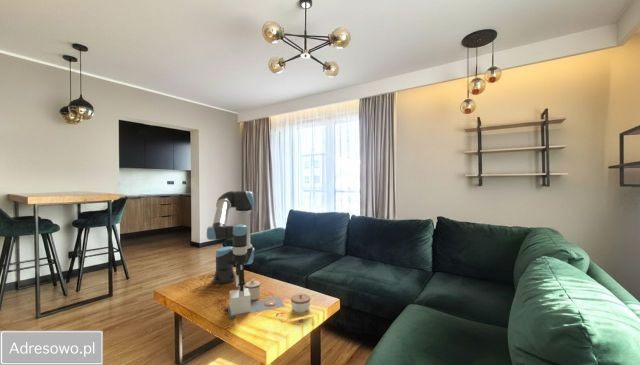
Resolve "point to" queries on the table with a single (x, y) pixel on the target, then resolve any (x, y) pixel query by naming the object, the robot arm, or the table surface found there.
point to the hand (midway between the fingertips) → (239, 291)
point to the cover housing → (240, 302)
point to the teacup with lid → (253, 289)
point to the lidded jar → (300, 302)
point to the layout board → (261, 306)
